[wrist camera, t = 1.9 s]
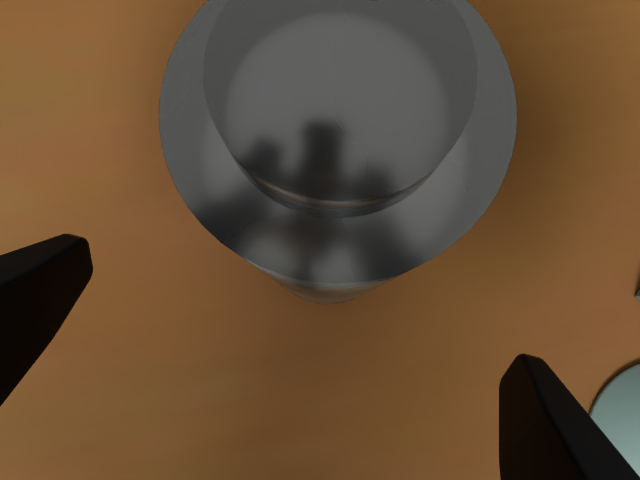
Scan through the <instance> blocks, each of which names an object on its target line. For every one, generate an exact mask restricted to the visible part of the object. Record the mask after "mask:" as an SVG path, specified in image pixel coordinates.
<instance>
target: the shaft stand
mask: <svg viewBox="0 0 640 480" xmlns="http://www.w3.org/2000/svg"><path fill="white" fill-rule="evenodd" d="M635 297H636V298H637V299H639V300H640V289H639V291H638V292H637V294H636V295H635Z"/></svg>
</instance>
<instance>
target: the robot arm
mask: <svg viewBox="0 0 640 480" xmlns="http://www.w3.org/2000/svg"><path fill="white" fill-rule="evenodd" d="M92 273H93V265H92V259H91V254H90V248H89V243H88V241H87V240H86V239H85V238H83V237H79V236H75V235H71V234H62V235H59V236H56V237H53V238H50V239H47V240H44V241H41V242H39V243H36V244H33V245H30V246H27V247H24V248H21V249H18V250H15V251H12V252H9V253H6V254H3V255H0V406H1V405H2V404H3V402H4V401H5V400H6V399H7V397H8V396H9V395H10V393H11V392H12V391H13V390H14V388H15V387H16V386H17V384H18V383H19V382H20V381H21V379H22V378H23V377H24V375H25V374H26V373H27V372H28V370H29V369H30V368H31V367H32V365H33V364H34V363H35V361H36V360H37V359H38V358H39V356H40V355H41V354H42V352H43V351H44V350H45V349H46V347H47V346H48V345H49V343H50V342H51V341H52V339H53V338H54V336H55V335H56V333H57V332H58V330H59V329H60V327H61V325H62V324H63V322H64V321H65V319H66V317H67V316H68V314H69V313H70V311H71V309H72V308H73V306H74V305H75V303H76V301H77V300H78V298H79V297H80V295H81V293H82V292H83V290H84V289H85V287H86V285H87V284H88V282H89V280H90V279H91V276H92ZM499 465H500V477H501V480H640V477H639V475H638V474H637V473H636V472H635V470H634V469H633V468H632V467H631V466H630V464H629V463H628V462H627V461H626V460H625V458H624V457H623V456H622V455H621V453H620V452H619V451H618V450H617V449H616V447H615V446H614V445H613V444H612V443H611V441H610V440H609V439H608V438H607V436H606V435H605V434H604V433H603V432H602V430H601V429H600V428H599V427H598V425H597V424H596V423H595V422H594V421H593V419H592V418H591V417H590V416H589V415H588V413H587V412H586V411H585V410H584V408H583V407H582V406H581V405H580V404H579V402H578V401H577V400H576V399H575V398H574V396H573V395H572V394H571V393H570V391H569V390H568V389H567V388H566V387H565V385H564V384H563V383H562V382H561V380H560V379H559V378H558V377H557V376H556V374H555V373H554V372H553V371H552V370H551V368H550V367H549V366H548V365H547V363H546V362H545V361H544V360H543V359H541V358H539V357H535V356H531V355H527V354H519V355H518V356H517V357H516V358H515V359H514V361H513V362H512V364H511V365H510V367H509V368H508V369H507V371H506V372H505V374H504V375H503V377H502V379H501V381H500V385H499Z"/></svg>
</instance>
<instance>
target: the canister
mask: <svg viewBox="0 0 640 480" xmlns="http://www.w3.org/2000/svg"><path fill="white" fill-rule="evenodd" d="M159 128H160V136H161V144H162V149H163V152H164V156H165V160H166V163H167V167H168V169H169V172H170V174H171V176H172V179H173V181H174V184H175V186H176V188H177V190H178V191H179V193H180V195H181V196H182V198H183V200H184V201H185V203H186V205H187V206H188V208H189V209H190V210H191V212H192V213H193V214H194V215H195V216H196V218H197V219H198V220H199V221H200V223H201V224H202V225H203V226H204V227H205V228H206V229H207V230H208V231H209V232H210V233H211V234H212V235H213V236H215V237H216V238H217V239H218V240H219V241H220V242H221V243H223V244H224V245H225V246H227V247H228V248H230V249H231V250H232V251H234V252H235V253H237V254H238V255H239V256H241V257H242V258H244V259H245V260H246V261H248V262H249V263H251V264H252V265H254V266H255V267H256V268H258V269H259V270H261V271H262V272H263V273H265V274H266V275H268V276H269V277H270V278H272V279H273V280H275V281H276V282H278V283H279V284H280V285H282V286H283V287H285V288H286V289H287V290H289V291H290V292H292V293H293V294H294V295H296V296H298V297H300V298H302V299H304V300H307V301H309V302H313V303H318V304H338V303H343V302H346V301H349V300H352V299H354V298H356V297H358V296H360V295H362V294H364V293H366V292H368V291H370V290H372V289H374V288H376V287H378V286H380V285H382V284H384V283H386V282H388V281H390V280H392V279H394V278H395V277H397V276H399V275H401V274H403V273H405V272H407V271H409V270H411V269H413V268H415V267H417V266H419V265H421V264H423V263H425V262H427V261H429V260H431V259H432V258H434V257H435V256H437V255H438V254H440V253H441V252H443V251H444V250H446V249H448V248H449V247H451V246H452V245H453V244H454V243H455V242H456V241H458V240H459V239H460V238H461V237H462V236H463V235H464V234H466V233H467V232H468V231H469V230H470V229H471V228H472V227H473V225H474V224H475V223H476V222H477V221H478V220H479V218H480V217H481V216H482V215H483V214H484V213H485V211H486V210H487V208H488V207H489V205H490V204H491V202H492V200H493V199H494V197H495V196H496V194H497V192H498V190H499V188H500V186H501V184H502V182H503V180H504V177H505V175H506V173H507V170H508V167H509V163H510V160H511V157H512V153H513V149H514V143H515V136H516V129H517V105H516V98H515V90H514V84H513V80H512V77H511V73H510V70H509V66H508V63H507V61H506V58H505V56H504V54H503V51H502V49H501V47H500V44H499V43H498V41H497V39H496V38H495V36H494V34H493V33H492V31H491V29H490V28H489V26H488V25H487V23H486V22H485V21H484V20H483V18H482V17H481V16H480V14H479V13H478V12H477V11H476V9H475V8H474V7H473V6H472V5H471V4H470V3H469V2H468V1H467V0H208V1H207V2H206V3H205V4H204V5H203V6H202V7H201V8H200V10H199V11H198V12H197V13H196V14H195V16H194V17H193V18H192V19H191V21H190V22H189V23H188V25H187V26H186V28H185V30H184V31H183V33H182V34H181V36H180V38H179V39H178V41H177V43H176V45H175V48H174V50H173V52H172V54H171V56H170V59H169V61H168V65H167V68H166V71H165V74H164V78H163V82H162V88H161V94H160V101H159Z"/></svg>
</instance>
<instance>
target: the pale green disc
mask: <svg viewBox="0 0 640 480" xmlns="http://www.w3.org/2000/svg"><path fill="white" fill-rule="evenodd" d="M589 416H590V417H591V418H592V419H593V421H594V422H595V423H596V424H597V425H598V427H599V428H600V429H601V430H602V432H603V433H604V434H605V435H606V436H607V438H608V439H609V440H610V441H611V443H612V444H613V445H614V446H615V447H616V449H617V450H618V451H619V452H620V453H621V455H622V456H623V457H624V458H625V460H626V461H627V462H628V463H629V464H630V466H631V467H632V468H633V469H634V470H635V472H636V473H637V474H638V475H639V477H640V364H637V365H634V366H632V367H630V368H628V369H626V370H624V371H623V372H621V373H620V374H619V375H617V376H616V377H614V378H613V379H612V380H611V381H610V382H609V383H608V384H607V385H606V386H605V388H604V389H603V390H602V392H601V393H600V394H599V395H598V397H597V399H596V401H595V403H594V404H593V406H592V409H591V411H590V414H589Z"/></svg>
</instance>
